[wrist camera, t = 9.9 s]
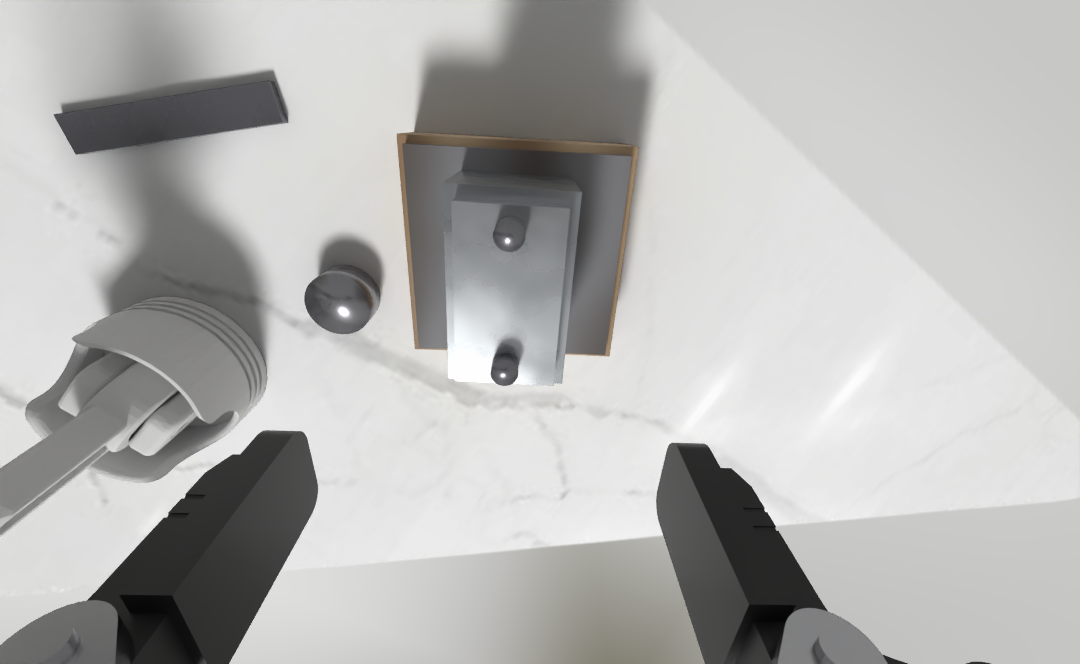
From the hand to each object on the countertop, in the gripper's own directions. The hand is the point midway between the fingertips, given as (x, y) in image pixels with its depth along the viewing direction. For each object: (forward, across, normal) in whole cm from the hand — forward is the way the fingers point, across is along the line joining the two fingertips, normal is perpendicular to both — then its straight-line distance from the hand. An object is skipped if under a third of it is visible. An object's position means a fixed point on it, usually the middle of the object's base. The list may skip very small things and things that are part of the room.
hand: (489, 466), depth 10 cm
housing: (+15, 0, 0) cm, 15 cm away
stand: (+19, 0, 0) cm, 19 cm away
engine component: (+20, +23, +10) cm, 32 cm away
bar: (+20, +19, -6) cm, 28 cm away
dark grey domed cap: (+20, +11, +4) cm, 23 cm away
